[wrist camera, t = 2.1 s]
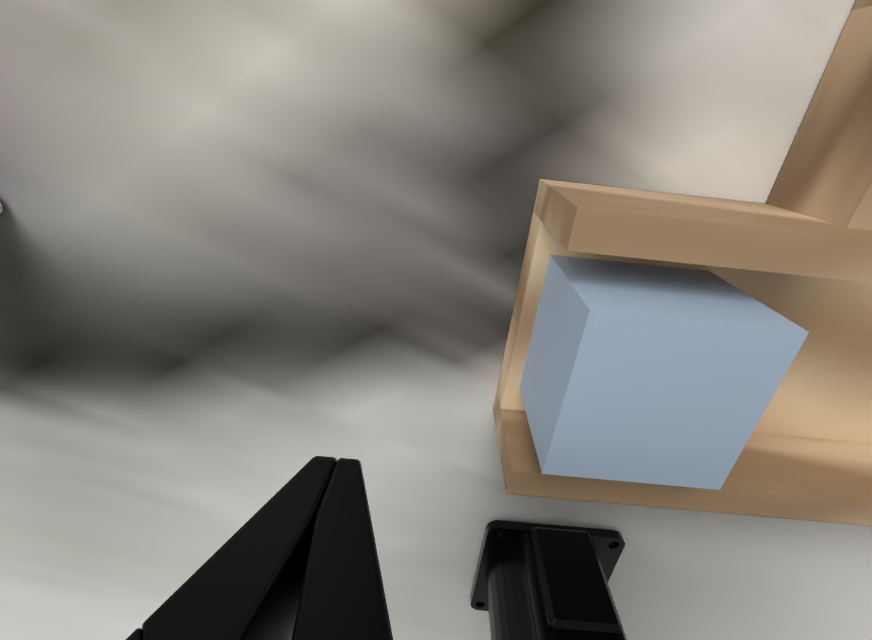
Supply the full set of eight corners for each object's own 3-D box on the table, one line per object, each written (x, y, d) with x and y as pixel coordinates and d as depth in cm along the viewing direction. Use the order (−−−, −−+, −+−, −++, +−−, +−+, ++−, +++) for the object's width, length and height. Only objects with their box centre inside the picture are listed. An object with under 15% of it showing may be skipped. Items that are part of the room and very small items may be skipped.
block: (655, 400, 15) (719, 489, 12) (519, 387, 15) (541, 473, 12) (709, 270, 13) (808, 332, 9) (550, 254, 13) (589, 310, 9)
